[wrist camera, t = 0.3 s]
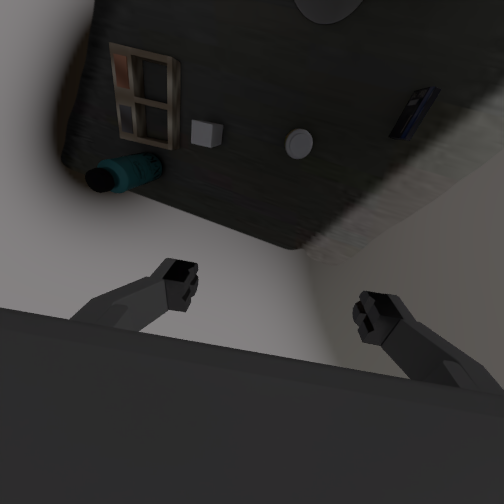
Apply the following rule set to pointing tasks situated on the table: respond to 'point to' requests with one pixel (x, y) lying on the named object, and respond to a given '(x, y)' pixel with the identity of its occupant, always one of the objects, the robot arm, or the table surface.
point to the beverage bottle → (124, 173)
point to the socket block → (132, 95)
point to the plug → (206, 133)
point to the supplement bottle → (298, 143)
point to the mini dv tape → (414, 113)
